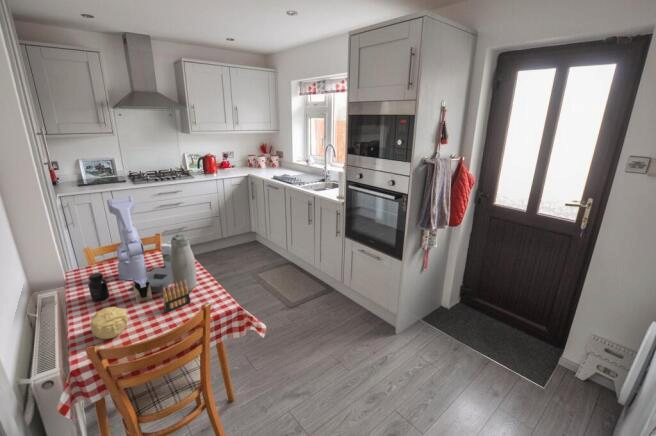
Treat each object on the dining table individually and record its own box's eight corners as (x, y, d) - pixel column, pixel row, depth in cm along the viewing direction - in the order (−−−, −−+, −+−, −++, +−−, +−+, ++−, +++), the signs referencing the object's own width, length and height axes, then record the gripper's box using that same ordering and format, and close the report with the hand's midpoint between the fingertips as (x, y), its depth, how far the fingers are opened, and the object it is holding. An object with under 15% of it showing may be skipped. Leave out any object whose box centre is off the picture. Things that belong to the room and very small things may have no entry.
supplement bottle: (113, 296, 148) (108, 272, 145) (99, 304, 142) (93, 280, 138) (102, 293, 150) (97, 270, 147) (88, 301, 144) (82, 277, 141)
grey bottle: (201, 289, 155) (195, 235, 146) (180, 297, 148) (172, 241, 139) (192, 282, 161) (185, 230, 153) (171, 290, 154) (163, 235, 145)
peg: (137, 302, 144) (134, 288, 141) (135, 298, 147) (133, 284, 144) (152, 298, 147) (149, 284, 145) (150, 294, 150) (148, 280, 148)
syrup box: (180, 265, 178) (176, 241, 174) (174, 270, 173) (170, 245, 168) (170, 265, 179) (166, 241, 174) (164, 270, 173) (160, 245, 169)
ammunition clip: (166, 313, 136) (162, 288, 133) (164, 311, 138) (160, 286, 134) (190, 303, 144) (187, 279, 140) (188, 301, 145) (185, 277, 142)
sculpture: (99, 348, 116) (92, 322, 113) (89, 333, 123) (83, 309, 120) (133, 333, 124) (128, 309, 121) (123, 320, 132) (118, 297, 128)
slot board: (133, 289, 154) (132, 284, 153) (156, 272, 171) (156, 267, 170) (160, 292, 152) (159, 287, 151) (181, 274, 169) (180, 269, 168)
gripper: (151, 271, 139) (156, 299, 143) (145, 259, 150) (150, 285, 154) (132, 276, 135) (138, 304, 139) (127, 263, 146) (133, 290, 150)
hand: (143, 294), depth 146 cm, fingers closed on peg, 4 cm apart
